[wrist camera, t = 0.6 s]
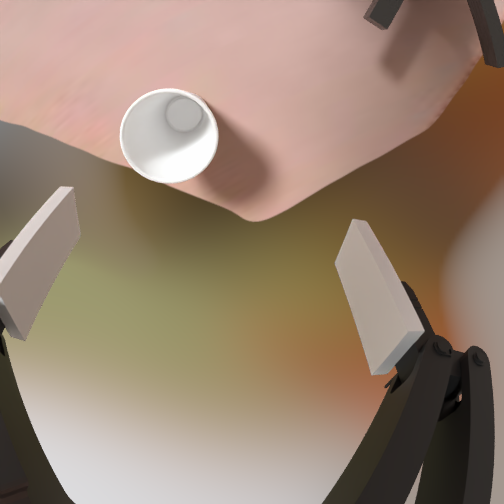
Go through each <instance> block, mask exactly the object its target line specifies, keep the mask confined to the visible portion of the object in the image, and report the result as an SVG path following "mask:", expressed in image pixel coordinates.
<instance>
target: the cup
mask: <svg viewBox="0 0 504 504" xmlns="http://www.w3.org/2000/svg"><path fill="white" fill-rule="evenodd" d="M218 141H219V134H218V127H217V122H216V120H215V118H214V115H213V113H212V112H211V110H210V109H209V108H208V106H207V105H206V103H205V101H204V100H203V99H202V98H201V97H200V96H198V95H196V94H194V93H191V92H186V91H183V90H180V89H171V88H167V89H158V90H155V91H152V92H149V93H147V94H145V95H143V96H142V97H140V98H139V99H138V100H136V101H135V102H134V103H133V104H132V105H131V107H130V108H129V109H128V110H127V112H126V114H125V116H124V118H123V120H122V124H121V128H120V143H121V148H122V151H123V154H124V156H125V158H126V160H127V161H128V163H129V164H130V165H131V166H132V168H133V169H134V170H135V171H137V172H138V173H139V174H140V175H142V176H144V177H146V178H147V179H149V180H152V181H156V182H159V183H167V184H169V183H179V182H184V181H187V180H189V179H192V178H194V177H195V176H197V175H198V174H200V173H201V172H202V171H203V170H204V169H205V168H206V167H207V166H208V165H209V164H210V162H211V161H212V159H213V158H214V155H215V153H216V150H217V146H218Z"/></svg>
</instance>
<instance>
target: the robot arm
mask: <svg viewBox="0 0 504 504" xmlns="http://www.w3.org/2000/svg"><path fill="white" fill-rule="evenodd" d="M80 236H81V233H80V228H79V222H78V216H77V209H76V202H75V195H74V188H73V187H60V188H58V190H57V191H56V192H55V193H54V194H53V195H52V196H51V197H50V198H49V199H48V200H47V201H46V203H45V204H44V205H43V206H42V207H41V208H40V209H39V210H38V212H37V213H36V214H35V215H34V216H33V217H32V219H31V220H30V221H29V222H28V223H27V225H26V226H25V227H24V228H23V230H22V231H21V232H20V233H19V235H18V236H17V237H16V239H15V240H10V241H9V242H8V243H7V244H5V245H4V246H3V247H2V248H1V249H0V504H75V503H74V502H73V501H72V500H71V499H70V498H69V497H68V495H67V494H66V493H65V491H64V489H63V487H62V486H61V484H60V482H59V480H58V478H57V477H56V475H55V473H54V471H53V469H52V467H51V465H50V463H49V461H48V459H47V457H46V455H45V453H44V451H43V449H42V447H41V445H40V443H39V441H38V438H37V436H36V434H35V432H34V429H33V427H32V424H31V422H30V419H29V417H28V414H27V411H26V409H25V406H24V403H23V401H22V398H21V395H20V392H19V389H18V386H17V383H16V379H15V376H14V373H13V369H12V366H11V362H10V359H9V355H8V352H7V347H6V343H5V339H4V337H3V335H2V332H3V330H4V328H6V329H7V331H8V333H9V335H10V336H11V337H14V338H17V339H20V340H24V341H25V340H26V338H27V336H28V333H29V331H30V329H31V327H32V325H33V322H34V320H35V318H36V316H37V314H38V312H39V310H40V308H41V306H42V304H43V302H44V300H45V298H46V296H47V294H48V292H49V290H50V288H51V286H52V284H53V283H54V281H55V279H56V277H57V275H58V273H59V272H60V270H61V268H62V266H63V265H64V263H65V261H66V259H67V258H68V256H69V254H70V253H71V251H72V249H73V248H74V246H75V244H76V243H77V241H78V239H79V238H80ZM335 266H336V269H337V271H338V274H339V277H340V280H341V283H342V285H343V288H344V291H345V294H346V297H347V300H348V303H349V306H350V308H351V311H352V314H353V317H354V320H355V324H356V326H357V330H358V333H359V336H360V339H361V342H362V345H363V349H364V352H365V355H366V358H367V362H368V365H369V368H370V372H371V375H380V374H388V373H389V371H390V370H391V369H392V368H393V367H394V366H396V369H397V372H398V373H397V374H396V375H395V376H394V377H393V378H392V379H391V380H390V381H389V382H388V383H387V384H386V385H385V388H387V387H388V386H389V385H390V387H389V389H388V391H387V393H386V395H385V397H384V399H383V401H382V403H381V405H380V407H379V410H378V412H377V414H376V415H375V417H374V419H373V421H372V423H371V425H370V427H369V429H368V431H367V433H366V434H365V437H364V438H363V440H362V442H361V444H360V445H359V447H358V449H357V450H356V452H355V454H354V455H353V457H352V459H351V461H350V462H349V464H348V466H347V467H346V469H345V470H344V472H343V474H342V475H341V476H340V478H339V480H338V481H337V483H336V484H335V486H334V487H333V489H332V490H331V492H330V493H329V495H328V496H327V497H326V499H325V500H324V501H323V503H322V504H404V503H405V501H406V499H407V497H408V495H409V493H410V491H411V489H412V486H413V484H414V482H415V480H416V478H417V475H418V473H419V470H420V468H421V466H422V463H423V467H422V472H421V478H420V483H419V487H418V492H417V496H416V500H415V504H490V498H491V489H492V481H493V468H494V442H495V441H494V439H495V436H494V433H495V432H494V404H493V389H492V378H491V370H490V362H489V359H488V357H487V355H486V353H485V352H484V351H483V350H482V349H481V348H479V347H477V346H471V347H470V348H469V349H468V350H467V351H466V352H465V353H462V352H459V351H455V350H453V348H452V346H451V344H450V343H449V342H448V341H447V340H446V339H445V338H443V337H441V336H439V335H435V333H434V331H433V329H432V327H431V325H430V323H429V321H428V319H427V317H426V315H425V313H424V311H423V309H421V308H422V307H421V305H420V303H419V301H418V299H417V297H416V295H415V293H414V291H413V290H412V289H411V288H410V287H409V286H408V284H407V283H406V282H403V281H400V279H399V278H398V276H397V274H396V272H395V270H394V268H393V267H392V265H391V263H390V261H389V259H388V257H387V256H386V254H385V252H384V250H383V248H382V247H381V245H380V243H379V241H378V240H377V238H376V236H375V235H374V233H373V232H372V230H371V228H370V226H369V225H368V223H367V221H363V220H357V219H352V222H351V225H350V227H349V229H348V232H347V235H346V237H345V239H344V242H343V244H342V246H341V249H340V251H339V254H338V256H337V258H336V261H335ZM460 394H462V400H461V401H459V395H460Z"/></svg>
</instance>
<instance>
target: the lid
mask: <svg viewBox="0 0 504 504" xmlns="http://www.w3.org/2000/svg"><path fill="white" fill-rule="evenodd" d="M467 2H468V5H469V7H470V10H471V13H472V16H473V20H474V23H475V26H476V29H477V33H478V36H479V40H480V44H481V48H482V52H483V56H484V60H485V64H486V65H490V66H493V67H497V68H501V67H504V34H503V30H502V26H501V23H500V19H499V16H498V13H497V10H496V6H495V3H494V0H467Z"/></svg>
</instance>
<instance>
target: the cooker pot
mask: <svg viewBox="0 0 504 504" xmlns="http://www.w3.org/2000/svg"><path fill="white" fill-rule="evenodd" d="M403 1H404V0H373V1H372V3H371V5H370V7H369V8H368V10H367V12H366V14H365V15H364V17H363V18H364V19H366V20H367V21H369V22H370V23H372V24H373V25H375V26H376V27H378V28H379V29H381V30H385V29H388V27H389V26H390V24H391V22H392V20H393V18H394V17H395V15H396V13H397V11H398V10H399V8H400V6H401V4H402V2H403Z"/></svg>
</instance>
